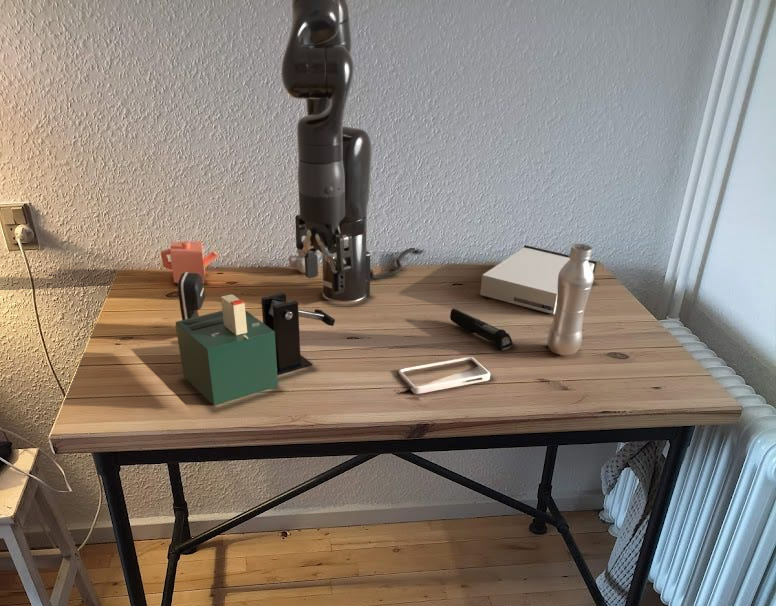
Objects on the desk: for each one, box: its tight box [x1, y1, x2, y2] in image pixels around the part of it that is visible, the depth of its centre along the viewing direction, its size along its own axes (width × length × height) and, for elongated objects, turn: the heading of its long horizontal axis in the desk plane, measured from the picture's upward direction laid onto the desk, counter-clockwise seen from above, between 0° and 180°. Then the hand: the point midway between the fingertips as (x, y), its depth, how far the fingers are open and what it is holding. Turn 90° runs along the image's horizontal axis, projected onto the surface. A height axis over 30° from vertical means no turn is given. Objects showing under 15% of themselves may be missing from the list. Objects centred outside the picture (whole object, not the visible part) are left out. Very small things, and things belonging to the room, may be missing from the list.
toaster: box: [175, 309, 279, 406], centre depth 129 cm, size 12×12×11 cm
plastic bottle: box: [546, 243, 595, 356], centre depth 141 cm, size 6×7×20 cm
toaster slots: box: [183, 312, 224, 330], centre depth 128 cm, size 9×4×1 cm, turn 126°
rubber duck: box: [288, 239, 305, 274], centre depth 173 cm, size 5×7×8 cm
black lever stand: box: [260, 292, 313, 377], centre depth 135 cm, size 8×7×13 cm
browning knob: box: [220, 294, 247, 335], centre depth 124 cm, size 4×2×5 cm, turn 36°
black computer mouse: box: [177, 272, 206, 320], centre depth 145 cm, size 7×4×11 cm, turn 2°
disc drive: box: [479, 244, 598, 315], centre depth 170 cm, size 18×22×5 cm
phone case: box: [398, 356, 491, 395], centre depth 137 cm, size 7×1×15 cm
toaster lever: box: [269, 300, 336, 327], centre depth 135 cm, size 12×5×2 cm, turn 126°
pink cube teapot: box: [160, 240, 219, 285], centre depth 167 cm, size 8×12×8 cm, turn 102°
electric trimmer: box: [449, 308, 513, 351], centre depth 151 cm, size 4×16×3 cm, turn 39°
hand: (324, 284), depth 135 cm, fingers open, 8 cm apart
